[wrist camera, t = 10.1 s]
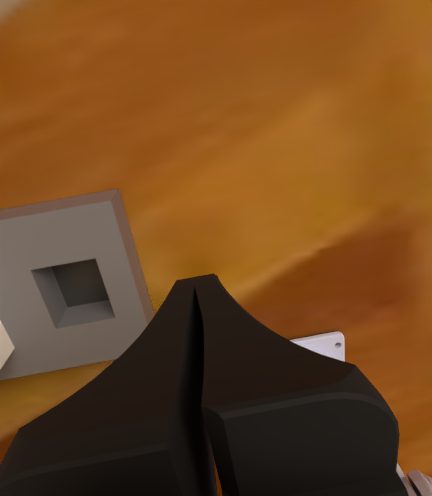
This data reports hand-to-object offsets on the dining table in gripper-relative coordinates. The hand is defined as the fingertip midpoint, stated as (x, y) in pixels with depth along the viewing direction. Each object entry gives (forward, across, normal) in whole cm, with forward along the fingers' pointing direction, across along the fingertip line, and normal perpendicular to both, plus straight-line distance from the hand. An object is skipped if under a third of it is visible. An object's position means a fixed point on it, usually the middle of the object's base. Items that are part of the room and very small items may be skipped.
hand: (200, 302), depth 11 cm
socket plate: (+10, +11, +3) cm, 15 cm away
